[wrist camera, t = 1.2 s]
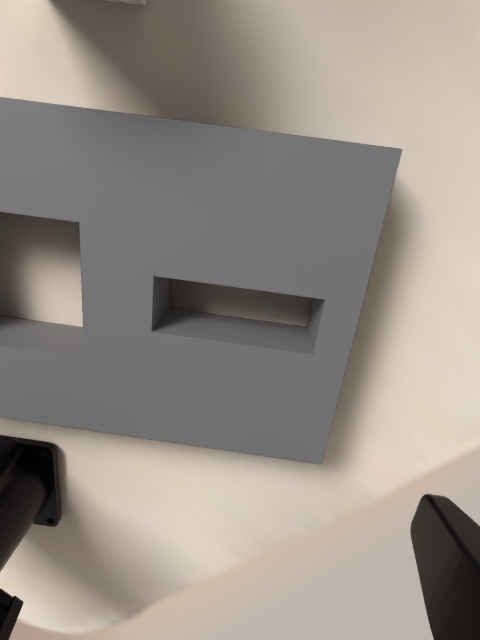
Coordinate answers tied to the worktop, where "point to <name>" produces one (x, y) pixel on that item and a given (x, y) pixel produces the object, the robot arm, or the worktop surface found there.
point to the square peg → (130, 1)
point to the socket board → (191, 275)
